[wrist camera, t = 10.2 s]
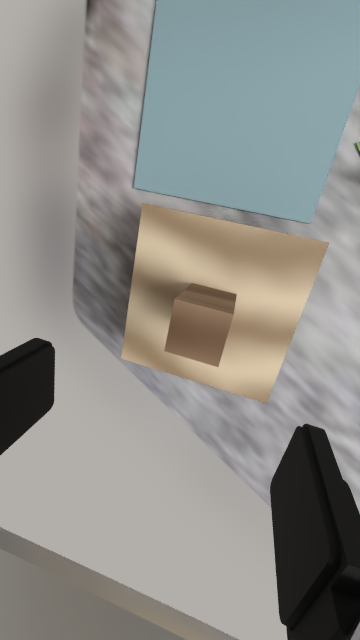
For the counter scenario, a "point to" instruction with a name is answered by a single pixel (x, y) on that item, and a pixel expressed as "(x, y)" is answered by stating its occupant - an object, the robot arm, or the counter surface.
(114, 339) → the counter surface
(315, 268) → the lid
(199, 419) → the counter surface
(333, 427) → the counter surface
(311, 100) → the mat
